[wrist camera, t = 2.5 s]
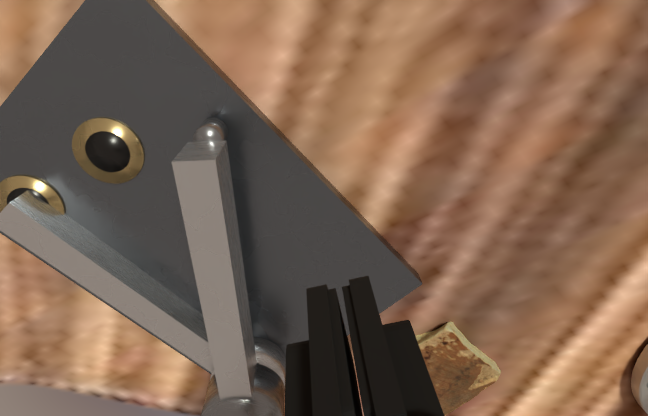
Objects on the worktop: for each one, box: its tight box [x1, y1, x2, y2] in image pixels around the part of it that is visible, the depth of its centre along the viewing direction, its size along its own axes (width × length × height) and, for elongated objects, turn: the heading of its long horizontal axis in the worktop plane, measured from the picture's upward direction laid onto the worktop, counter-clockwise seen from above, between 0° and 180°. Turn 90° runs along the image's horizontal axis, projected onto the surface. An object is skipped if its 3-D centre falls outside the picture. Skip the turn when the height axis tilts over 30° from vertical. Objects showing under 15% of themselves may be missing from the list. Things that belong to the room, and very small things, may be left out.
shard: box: [416, 322, 501, 416], centre depth 28 cm, size 11×8×2 cm
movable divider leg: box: [172, 118, 285, 416], centre depth 20 cm, size 18×4×4 cm, turn 2°
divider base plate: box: [0, 0, 422, 387], centre depth 21 cm, size 21×14×3 cm, turn 42°
